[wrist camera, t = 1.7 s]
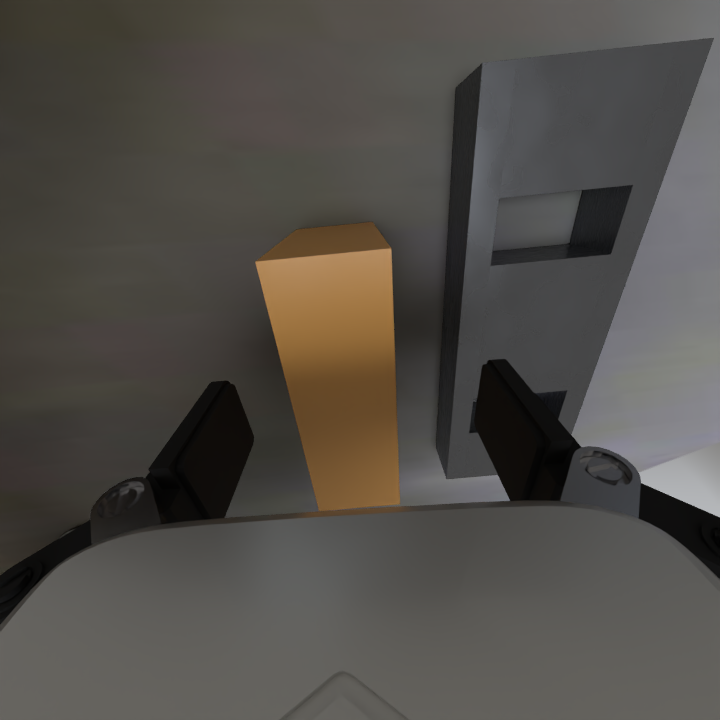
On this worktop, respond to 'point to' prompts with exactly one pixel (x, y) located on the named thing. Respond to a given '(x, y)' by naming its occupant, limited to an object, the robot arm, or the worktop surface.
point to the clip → (338, 358)
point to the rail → (591, 229)
